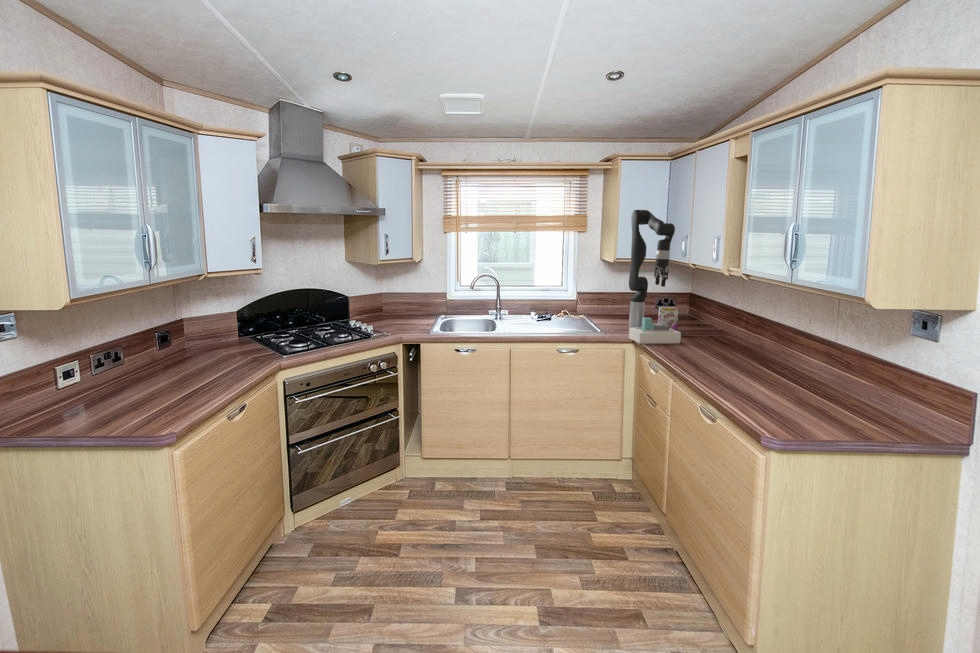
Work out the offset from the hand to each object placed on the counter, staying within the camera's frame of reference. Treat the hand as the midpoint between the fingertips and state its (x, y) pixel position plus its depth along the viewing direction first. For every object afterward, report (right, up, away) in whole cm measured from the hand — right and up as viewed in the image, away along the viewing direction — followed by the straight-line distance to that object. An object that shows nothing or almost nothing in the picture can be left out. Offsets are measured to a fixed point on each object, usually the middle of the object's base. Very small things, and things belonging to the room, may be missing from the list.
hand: (660, 285), depth 307 cm
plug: (-11, -29, -8) cm, 32 cm away
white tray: (-6, -32, -7) cm, 33 cm away
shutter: (-3, -26, -8) cm, 27 cm away
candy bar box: (+9, -29, +15) cm, 33 cm away
